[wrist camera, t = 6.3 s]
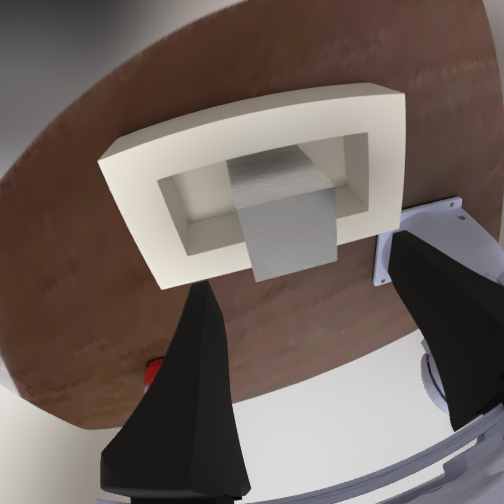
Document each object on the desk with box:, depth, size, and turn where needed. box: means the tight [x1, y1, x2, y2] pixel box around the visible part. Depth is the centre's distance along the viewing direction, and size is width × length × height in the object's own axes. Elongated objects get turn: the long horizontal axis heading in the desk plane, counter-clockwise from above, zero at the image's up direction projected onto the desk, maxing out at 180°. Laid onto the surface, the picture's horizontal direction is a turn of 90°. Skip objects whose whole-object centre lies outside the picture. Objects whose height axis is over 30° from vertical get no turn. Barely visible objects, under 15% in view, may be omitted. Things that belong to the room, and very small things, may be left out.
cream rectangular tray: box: [98, 82, 406, 290], centre depth 17 cm, size 16×9×4 cm, turn 101°
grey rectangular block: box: [226, 144, 337, 282], centre depth 15 cm, size 4×4×7 cm
